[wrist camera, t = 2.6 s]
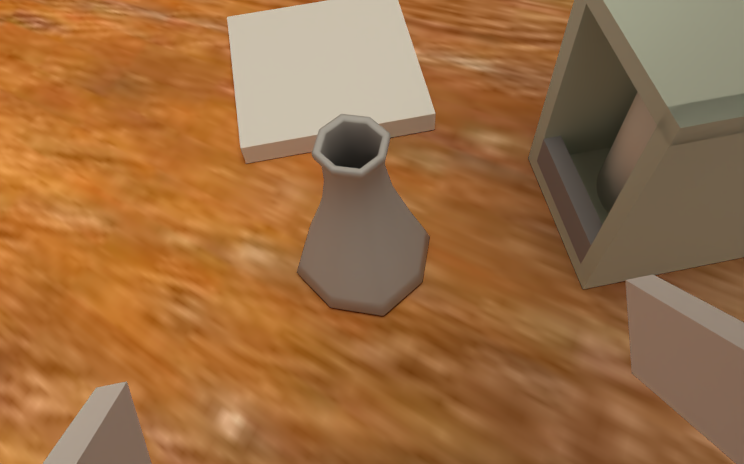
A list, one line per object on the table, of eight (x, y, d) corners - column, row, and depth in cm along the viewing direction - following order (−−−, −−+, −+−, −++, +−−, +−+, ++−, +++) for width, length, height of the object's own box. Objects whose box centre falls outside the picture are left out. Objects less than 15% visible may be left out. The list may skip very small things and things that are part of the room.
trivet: (394, 7, 44) (394, -11, 43) (434, 129, 38) (435, 113, 37) (232, 34, 43) (227, 17, 42) (246, 163, 37) (240, 148, 36)
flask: (274, 280, 33) (230, 172, 24) (342, 185, 36) (323, 59, 27) (390, 340, 31) (385, 244, 22) (451, 233, 34) (467, 113, 25)
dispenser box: (683, 129, 37) (805, -69, 26) (759, 254, 32) (947, 78, 21) (528, 158, 36) (583, -32, 25) (582, 289, 32) (680, 128, 21)
